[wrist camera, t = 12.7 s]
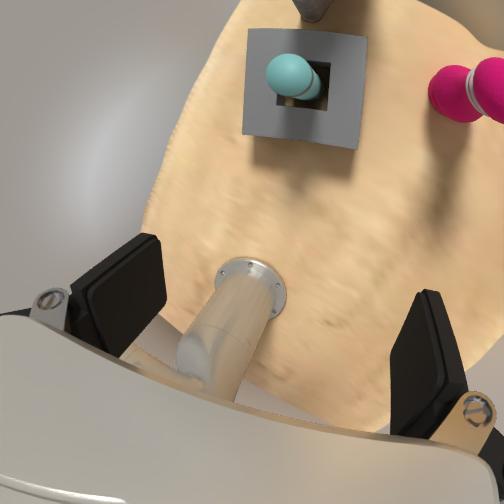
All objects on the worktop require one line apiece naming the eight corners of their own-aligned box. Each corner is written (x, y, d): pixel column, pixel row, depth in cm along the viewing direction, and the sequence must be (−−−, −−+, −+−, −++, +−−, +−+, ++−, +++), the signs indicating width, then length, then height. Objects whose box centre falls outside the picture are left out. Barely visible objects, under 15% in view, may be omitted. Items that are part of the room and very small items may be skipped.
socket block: (356, 145, 36) (357, 149, 31) (254, 131, 39) (242, 134, 35) (365, 46, 29) (367, 37, 25) (259, 37, 32) (248, 28, 28)
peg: (322, 103, 34) (310, 98, 23) (292, 99, 35) (263, 94, 24) (325, 74, 32) (313, 55, 21) (294, 71, 33) (266, 52, 22)
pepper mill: (473, 123, 28) (558, 144, 11) (426, 118, 31) (493, 130, 14) (468, 72, 25) (550, 57, 8) (421, 66, 28) (482, 34, 11)
